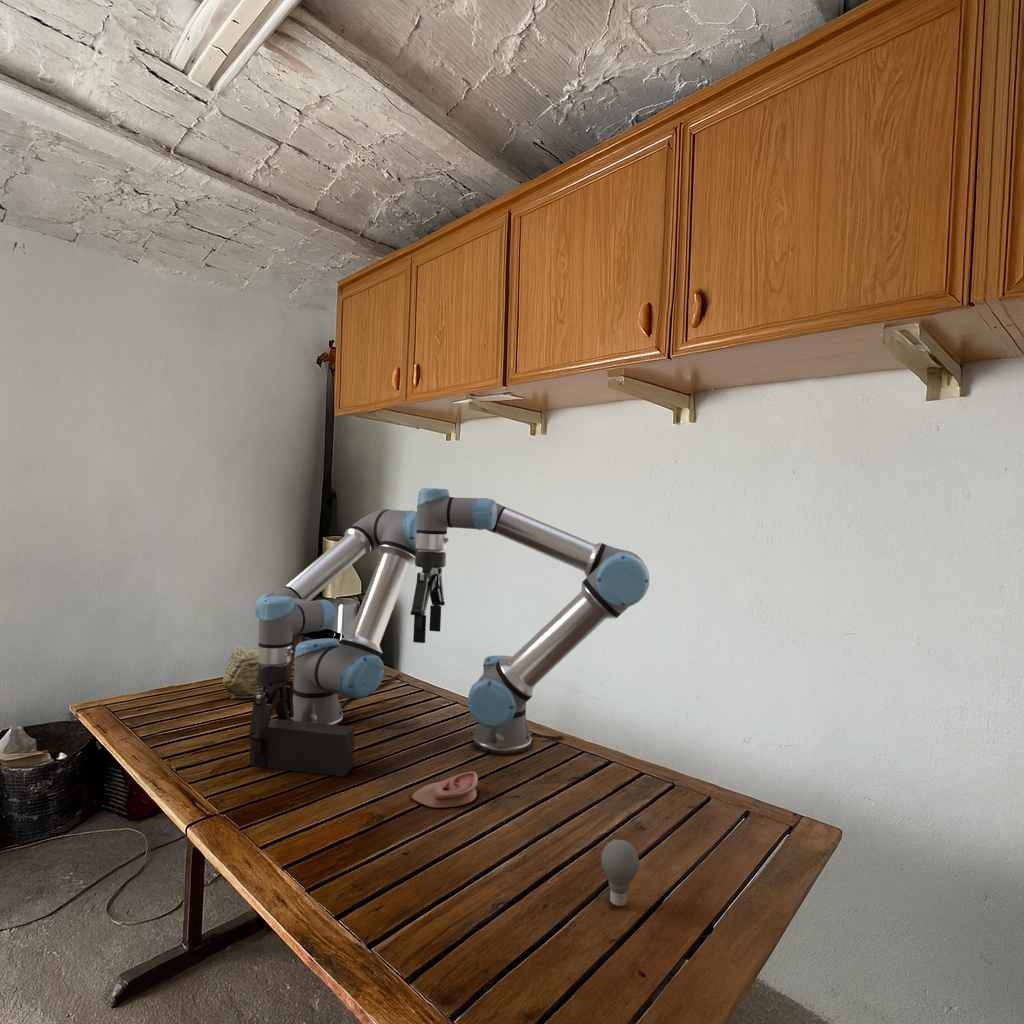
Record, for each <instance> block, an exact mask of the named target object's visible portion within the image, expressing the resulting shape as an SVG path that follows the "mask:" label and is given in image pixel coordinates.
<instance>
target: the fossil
mask: <svg viewBox="0 0 1024 1024" xmlns="http://www.w3.org/2000/svg"><path fill="white" fill-rule="evenodd" d="M259 664H260V663H258V648H251V647H247V646H246V647H245V646H238V647H237V648H236V649H235V650H233V651H232V653H231V656H230V657H229V659H228V660H227V663H226V666H225V668H224V671H223V675H222V676H223V677H222V685H223V687H224V688H225V690H226V691H228V693H229V698H230V699H250V698H252V699H253V696H254V694H260V693H261V689H262V683H261V682H259V681H258V680H257V669H258V665H259Z"/></svg>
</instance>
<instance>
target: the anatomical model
mask: <svg viewBox="0 0 1024 1024" xmlns="http://www.w3.org/2000/svg"><path fill="white" fill-rule="evenodd" d="M478 777H479V776H478V775H477V772H475V771H466V772H463V773H462V772H461V773H459V774H456V775H454V776H451V777H448V778H445V779H444V780H441V781H438V782H433V783H429V784H426V785H424V786H421V788H419V789H417V790H416V791H414V792H413V794H412V795H411V799H412V800H414V801H415V802H417V803H419V804H421V805H423V806H427V807H428V808H429V807H430V808H435V809H439V808H452V807H459V806H464V805H466V804H469V803H471V802H473V801H474V800H475V799H476V798H477V795H478V794H477V789H476V787H477V786H478V783H479V782H478V781H479V778H478Z"/></svg>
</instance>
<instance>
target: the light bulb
mask: <svg viewBox="0 0 1024 1024" xmlns="http://www.w3.org/2000/svg"><path fill="white" fill-rule="evenodd" d="M600 858H601V861H600V862H601V866H602V869H603V871H604V873H605V875H606V877H607V879H608V886H609V888H610V897H609V901H610V902H611V904H613V905H614V906H618V907H622V906H625V905H626V904H627V896H628V895H627V893H628V891H629V889H630V885H631V882H632V880H633V879H634V878H635V876H636V875H637V874H638V870H639V868H640V858H639V854H638V852H637V850H636V848H635V847H634V846H633V845H632V844H631V843H630V842H628V841H627V840H624V839H613V840H612V841H609V842H608V843H607V844H606V845H605V847H604V848H603V850H602V852H601V857H600Z"/></svg>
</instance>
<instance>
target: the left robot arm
mask: <svg viewBox="0 0 1024 1024" xmlns="http://www.w3.org/2000/svg"><path fill="white" fill-rule="evenodd" d="M416 531H417V510H411V509H410V510H400V509H399V510H397V509H387V508H386V509H378V510H376V511H373V512H370V513H368V515H366V516H363V517H362V518H360V519H359V520H358V521H356V522H355V523H354V524H352V525H351V526H350V527H348V528H347V529H346V530H345V531H344V536H343V537H342V538H341V539H340V540H338V541H337V542H336V543H335V544H334V545H332V546H331V547H330V548H328V550H326V551H325V552H324V553H322V554H321V555H320V556H319V557H318V558H316V560H314V561H313V562H312V563H310V564H309V565H308V566H307V567H305V568H304V570H302V571H301V572H300V573H298V574H297V575H295V576H294V577H293V578H292V579H291V580H290V581H289V582H288V583H286V584H285V585H284V586H283V587H282V588H280V589H279V590H278V591H276V592H271V593H270V592H267V593H264V594H262V595H261V596H259V598H258V599H257V600H256V601H255V605H254V613H255V615H256V618H258V645H257V646H258V663H260V664H259V665H258V669H257V680H258V681H259V682H261V683H262V689H261V693H260V694H254V696H253V697H252V700H253V701H252V702H253V706H252V711H251V719H250V726H249V732H248V740H250V739H254V740H255V755H254V766H253V767H254V768H255V767H256V768H263V769H266V768H265V767H267V748H268V738H266V734H267V730H268V726H269V722H270V718H271V717H272V715H273V714H272V713H273V710H275V712H276V716H277V719H282V720H292V721H302V722H311V723H321V724H331V725H342V723H343V722H344V713H343V709H342V708H343V707H344V706H345V705H346V703H348V702H349V701H350V700H352V699H365V698H367V697H368V696H369V695H372V694H373V693H374V692H375V691H377V689H378V688H381V687H383V686H385V685H387V684H389V683H391V682H392V681H394V680H396V679H397V678H398V677H400V676H401V674H400V673H397V674H396V675H395V676H394V677H392V678H391V679H389V680H386V681H385V682H382V681H383V679H384V674H385V668H384V667H385V665H384V662H383V660H382V659H381V658H382V654H383V650H382V648H381V646H380V645H381V642H382V640H383V637H384V635H385V631H386V629H387V626H388V624H389V621H390V618H391V616H392V613H393V610H394V608H395V606H396V603H397V600H398V597H399V594H400V592H401V589H402V587H403V584H404V582H405V579H406V576H407V574H408V570H409V568H410V566H411V565H414V564H415V553H416V551H418V549H416V548H415V547H416V533H417V532H416ZM375 550H378V551H379V553H380V557H379V559H378V562H377V564H376V567H375V570H374V572H373V573H372V574H373V575H372V577H371V579H370V582H369V585H368V587H367V589H366V592H365V594H364V597H363V600H362V602H361V604H360V606H359V608H358V609H359V610H358V612H357V615H356V617H355V620H354V622H353V625H352V627H351V629H350V631H349V634H348V635H346V636H344V637H342V638H341V639H340V641H339V639H338V638H335V637H334V638H331V637H329V638H315V639H308V640H304V641H301V642H299V643H298V644H297V645H296V646H295V652H294V651H293V639H294V636H296V635H297V636H298V635H301V634H308V633H314V632H321V631H323V630H327V629H329V628H331V627H332V626H333V625H334V624H335V621H336V616H337V615H336V613H337V612H336V608H335V606H334V604H333V603H332V602H331V600H327V599H315V600H313V599H314V598H316V597H317V596H318V595H320V593H321V592H322V591H324V590H325V589H326V588H327V587H328V586H329V585H330V584H332V583H333V582H334V581H335V580H336V579H338V577H340V576H341V575H342V574H343V573H344V572H346V571H347V569H349V568H350V567H351V566H352V565H353V564H354V563H356V561H358V560H359V559H360V558H361V557H366V556H369V555H370V554H371V553H372V552H373V551H375ZM293 654H294V656H293ZM292 656H293V657H292ZM293 658H294V661H293V662H294V670H293V671H294V672H293V679H291V678H292V667H293V665H292V663H291V662H292V659H293ZM338 694H339V695H340V696H341V695H342V696H343V697H346V699H345V700H344V701H343V702H342V703H341V702H340V699H339V695H338Z"/></svg>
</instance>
